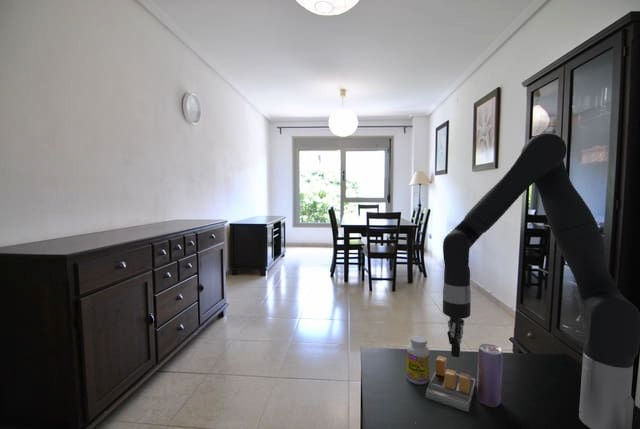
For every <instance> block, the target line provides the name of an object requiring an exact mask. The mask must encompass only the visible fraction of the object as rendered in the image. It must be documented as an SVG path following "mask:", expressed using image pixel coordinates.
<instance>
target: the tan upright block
mask: <svg viewBox="0 0 640 429" xmlns="http://www.w3.org/2000/svg"><path fill="white" fill-rule="evenodd" d="M459 374H460V377H459V391H460V392H463V393H466V394H469V393H470V379H471V378H472V377H471V376H472V375H471V374H468V373H464V372H462V371H461V372H460V373H459Z"/></svg>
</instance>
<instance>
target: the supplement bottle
mask: <svg viewBox="0 0 640 429" xmlns="http://www.w3.org/2000/svg"><path fill="white" fill-rule="evenodd" d="M410 337H411V338H410V344H408V345H407V347H406V349H407V350H406V368H405V369H406V370H405V371H406V373H405V375H406V378H407V380H408V381H409V382H410V383H413V384H416V385H425V384H427V383H429V382H428V381H429V380H430V379H429V378H430V376H429V375H430V354H431V352H430V348H429V347H428V346H427V344H428V339H427V338H426V337H424V336H422V335H412V336H410Z"/></svg>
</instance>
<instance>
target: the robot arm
mask: <svg viewBox="0 0 640 429" xmlns="http://www.w3.org/2000/svg"><path fill="white" fill-rule="evenodd" d="M567 149H568V148H567V144H566V142H565V140H564V139H563V138H562V137H561V136H559V135H556V134H554V133H541V134H537V135H535V136H533V137H531V138H530V139H529V140H528V141H527V142H526V143H525V144H524V146H523V147H522V148H521V152H520V155H519V156H518V157H517V159H516V160H515V162H514V164H513V165H512V166H511V167H510V169H509V170H508V171H507V172H506V173H505V174H504V175H503V177H502V178H500V180H499V181H497V183H496V184H495V185H494V186H493V187H492V188H490V189H489V190H488V191H487V192H486V193H485V194H484V195H483V196H482V197H481V198H480V199H479V200H478V201H477V203H476V204H475V205H473V207H472V208H471V209H470V210H469V211H468V212H467V214H466V215H465V216H464V218H463V220H461V221H460V222H459V223H458V224H457V225H456V226H455V227H454V228H453V229H452V230H451V231H449V233H448V234H447V235H446V236H445V237H444V239H443V241H442V242H443V243H442V255H443V262H444V270H443V286H442V287H443V288H442V313H443V314H444V315H445V316H447V317H449V320H448V321H447V328H448V330H447V337H448V338H447V339H448V342H449V345H450V346H451V351H450V353H451V354H450V355H451V356H452V357H453V358H460V355H461V344H462V339H463V335H464V327H465V320H464V319H467V318H469V317H470V316H471V304H472V303H471V300H472V297H471V296H472V293H471V268H470V266H469V265H470V264H469V262H470V249H471V247H472V246H473V245H474V244H475V243H476V242H477V241H478V239H480V237H481V236H482V235H483V234H485V233H486V232H487V231H489V230H490V229H491V228H492V227H493V226H494V225H495V224H496V223H497V222H498V220H500V219H501V218H502V216H503V215H504V214H505V213H506V212H507V211H508V210H509V208H510V207H512V205H513V204H514V203H515V202H516V201H517V200H518V199H519V198H520V197H521V195H522V194H523V193H524V192H525V191H527V189H529V188H530V187H531V186H532V185H535V187H536V189H537V192H538V193H539V196H540V199H541V203H542V207H543V210H544V213H545V217H546V219H547V222H548V225H549V229H550V231H551V233H552V236H553V238H554V240H555V243H556V245H557V247H558V249H559V251H560V253H561V255H562V257H563V259H564V261H565V263H566V264H567V266H568V268H569V269H570V272H571V273H572V275H573V277H574V280H575V284H576V287H577V290H578V295H579V296H580V302H581V305H582V309H583V312H584V313H585V315H586V317H587V318H588V319H589V329H588V330H589V331H588V339H586V340H585V341H584V343H583V350H582V366H581V378H580V379H581V380H580V381H581V382H580V383H581V384H580V396H579V407H578V418H579V420H580V421H581V422H582V424H584V425H585V426H587V427H588V428H589V429H632V426H633V413H634V412H633V411H634V403H635V402H634V399H633V396H632V388H633V387H632V385H633V373H634V370H633V369H634V362H635V359H636V358H637V356H638V354H639V351H640V350H639V349H640V310H639V309H638V307H637V306H636V305H634V303H632V302H631V301H629V300H628V299H627V298H625V297H624V296H623V294H622V293H621V291H620V290H619V288H618V287H617V285H616V283H615V282H614V279H613V277H612V275H611V273H610V271H609V268H608V264H607V259H606V258H607V257H606V255H607V254H606V249H605V247H606V246H605V243H604V242H605V241H604V239H603V236H602V232H601V230H600V228H599V226H598V224H597V223H598V222H597V221H596V218H595V216H594V215H593V212H592V210H591V209H590V208H589V206H588V204H587V203H586V202H585V200H584V199H583V197H582V196H581V194H580V193H579V192H578V190H577V189H576V188H575V186H574V184H573V183H572V181H571V179H570V176H569V173H568V170H567V168H566V165H565V161H564V160H565V157H566V156H567V152H568V151H567Z"/></svg>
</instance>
